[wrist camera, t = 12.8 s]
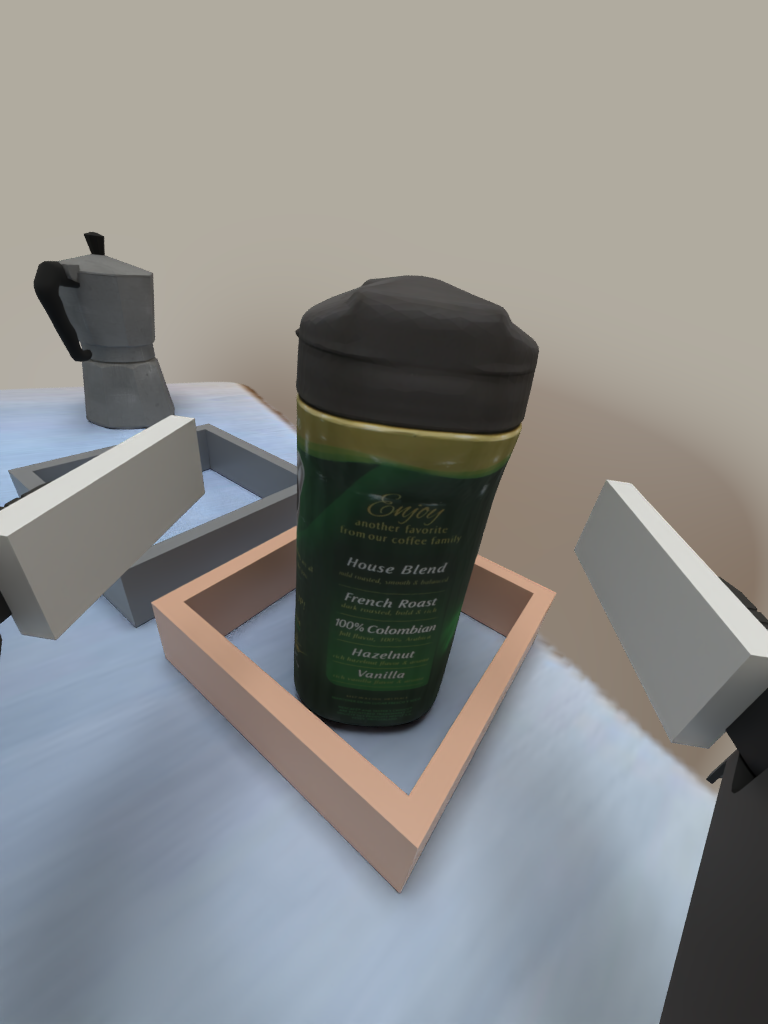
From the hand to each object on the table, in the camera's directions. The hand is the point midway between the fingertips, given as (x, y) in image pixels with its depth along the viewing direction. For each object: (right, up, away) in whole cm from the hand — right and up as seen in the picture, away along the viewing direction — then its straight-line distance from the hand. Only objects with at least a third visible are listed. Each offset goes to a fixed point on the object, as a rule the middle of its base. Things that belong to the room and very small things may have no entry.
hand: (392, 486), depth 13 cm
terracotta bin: (-1, -9, +10) cm, 13 cm away
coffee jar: (-1, -9, +10) cm, 13 cm away
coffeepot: (-30, +10, +34) cm, 46 cm away
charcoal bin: (-16, -2, +18) cm, 24 cm away
